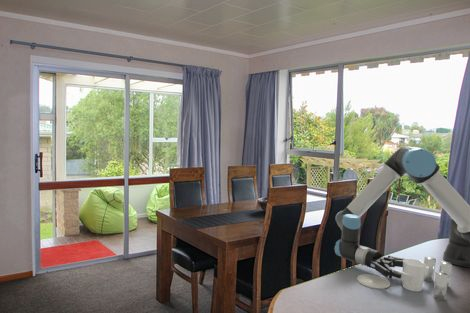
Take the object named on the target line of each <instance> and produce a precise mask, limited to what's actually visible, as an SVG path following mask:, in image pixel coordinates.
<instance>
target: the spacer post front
mask: <svg viewBox="0 0 470 313" xmlns="http://www.w3.org/2000/svg"><path fill="white" fill-rule="evenodd" d="M447 281H448V274H446V273H443V272H439V271H435V273H434V282H433V283H434V285H433V293H432V294H433V296H432V297H433V299H435V300H437V301H442V302H443V301H446V300H447V290H448V288H447Z"/></svg>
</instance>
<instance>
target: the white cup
mask: <svg viewBox="0 0 470 313" xmlns="http://www.w3.org/2000/svg"><path fill="white" fill-rule="evenodd" d="M403 259H404V260H403V267H402V272H404V273H406V274H409V275H411V283H409V282H406V281H403V280H402V287H403V288H404V289H405V290H408V291H411V292H422V290H423V284H424V275H425V268H426V264H425V263H424V261H422V260H420V259H414V258H403Z"/></svg>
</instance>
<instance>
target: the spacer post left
mask: <svg viewBox="0 0 470 313" xmlns="http://www.w3.org/2000/svg"><path fill="white" fill-rule="evenodd" d="M436 259H437V258H435V257H432V256H424V259H423V260H424V261H423V262H424V263H425V264H426V267H429V274H428V275H427V274H425V275H424V281H425V282H426V283H427V282H428V283H434V282H435V272H436V270H435V269H436V261H437V260H436ZM424 281H423V282H424Z"/></svg>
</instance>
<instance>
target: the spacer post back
mask: <svg viewBox="0 0 470 313" xmlns="http://www.w3.org/2000/svg"><path fill="white" fill-rule="evenodd" d="M452 267H453V264H452V263H449V262H447V261H445V260H444V261H443V260H441V261H439V269H438V272H443V273H446V274H448V281H447V289H449V288H450V284H451V277H452Z"/></svg>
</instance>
